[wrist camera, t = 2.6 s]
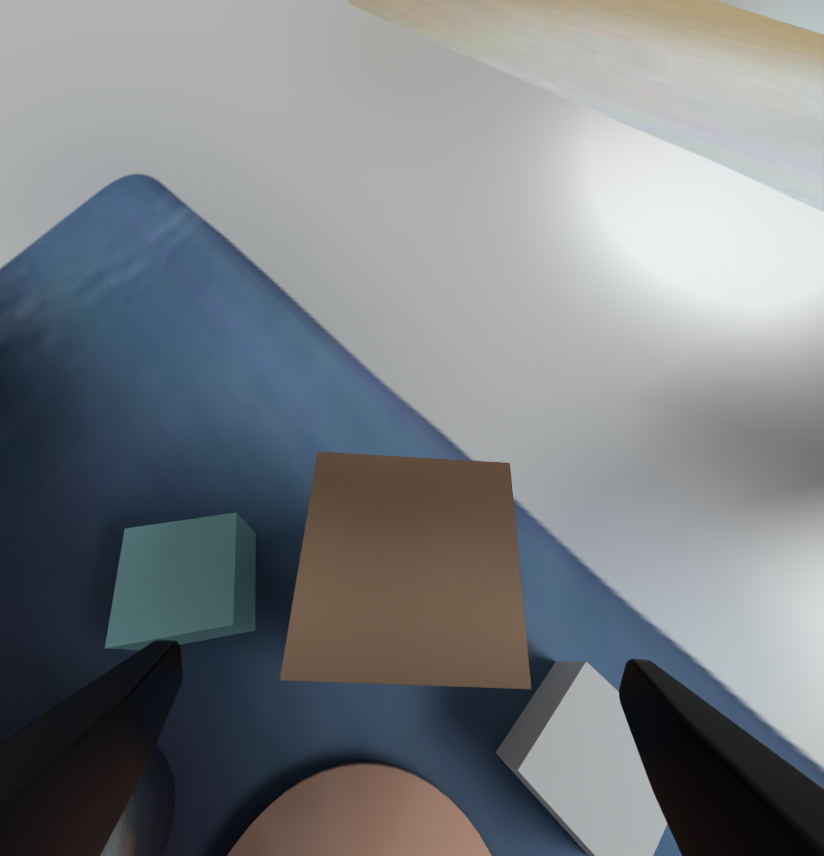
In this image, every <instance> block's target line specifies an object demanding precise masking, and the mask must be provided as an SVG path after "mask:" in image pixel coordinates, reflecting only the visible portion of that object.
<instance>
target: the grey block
mask: <svg viewBox="0 0 824 856" xmlns="http://www.w3.org/2000/svg"><path fill="white" fill-rule="evenodd" d="M496 754H497V755H498V756H499V757H500V758H501V759H502V760H503V762H504V763H505V764H506V765H507V766H508V767H509V768H510V769H511V770H512V772H513V773H514V774H515V775H516V776H517V777H518V778H519V779H520V780H521V782H522V783H523V784H524V785H525V786H526V787H527V788H528V789H529V790H530V792H531V793H532V794H533V795H534V796H535V797H536V798H537V799H538V800H539V801H540V803H541V804H542V805H543V806H544V807H545V808H546V809H547V810H548V811H549V813H550V814H551V815H552V816H553V817H554V818H555V819H556V820H557V821H558V823H559V824H560V825H561V826H562V827H563V828H564V829H565V830H566V831H567V833H568V834H569V835H570V836H571V837H572V838H573V839H574V840H575V841H576V843H577V844H578V845H579V846H580V847H581V848H582V849H583V850H584V851H585V853H586V854H587V855H588V856H653V855H654V852H655V850H656V848H657V846H658V843H659V841H660V839H661V837H662V835H663V832H664V830H665V828H666V826H667V822H666V819H665V817H664V815H663V813H662V811H661V808H660V806H659V804H658V802H657V799H656V797H655V795H654V793H653V790H652V787H651V785H650V782H649V780H648V777H647V775H646V772H645V769H644V766H643V764H642V761H641V758H640V755H639V753H638V750H637V747H636V744H635V742H634V739H633V736H632V734H631V731H630V728H629V725H628V723H627V720H626V717H625V714H624V712H623V709H622V706H621V703H620V699H619V692H618V691H617V690H616V689H615V688H614V687H613V686H612V685H611V684H610V683H609V682H607V681H606V680H605V679H604V678H603V677H602V676H601V675H600V674H599V673H598V672H597V671H596V670H595V669H594V668H593V667H591V666H590V665H589V664H588V663H587V662H586V661H584V662H555V663H554V665H553V666H552V668H551V670H550V671H549V673H548V674H547V676H546V677H545V679H544V680H543V682H542V683H541V685H540V686H539V688H538V689H537V691H536V692H535V694H534V695H533V697H532V698H531V700H530V701H529V703H528V704H527V706H526V707H525V709H524V710H523V712H522V713H521V715H520V716H519V718H518V719H517V721H516V722H515V724H514V725H513V727H512V728H511V730H510V731H509V733H508V734H507V736H506V737H505V739H504V740H503V742H502V743H501V745H500V746H499V748H498V750H497V751H496Z"/></svg>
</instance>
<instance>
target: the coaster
mask: <svg viewBox="0 0 824 856" xmlns="http://www.w3.org/2000/svg"><path fill="white" fill-rule="evenodd" d="M227 856H492V855H491V854H490V852H489V850H488V848H487V847H486V845H485V843H484V842H483V840H482V838H481V836H480V835H479V833H478V831H477V830H476V828H475V827H474V826H473V824H472V823H471V822H470V820H469V819H468V818H467V816H466V815H465V813H464V812H463V811H462V810H461V809H460V808H459V807H458V806H457V805H456V804H455V803H454V801H453V800H452V799H451V798H450V797H449V796H448V795H447V794H445V793H444V792H443V791H442V790H440V789H439V788H438V787H436V786H435V785H434V784H433V783H431V782H430V781H428V780H426V779H424V778H423V777H421V776H419V775H418V774H416V773H414V772H411V771H409V770H406V769H403V768H401V767H398V766H394V765H389V764H384V763H379V762H355V763H348V764H341V765H338V766H334V767H331V768H328V769H324V770H322V771H320V772H318V773H315V774H313V775H311V776H309V777H307V778H305V779H303V780H302V781H300V782H299V783H297V784H295V785H294V786H292V787H291V788H289V789H288V790H286V791H285V792H284V793H283V794H282V795H280V796H279V797H278V798H277V799H276V800H274V801H273V802H272V803H271V804H270V805H269V806H268V807H267V808H266V809H265V810H264V811H263V812H262V813H261V814H260V815H259V816H258V817H257V818H256V819H255V820H254V821H253V822H252V824H251V825H250V826H249V827H248V829H247V830H246V831H245V832H244V834H243V835H242V836H241V838H240V839H239V840H238V842H237V843H236V844H235V846H234V847H233V848H232V849H231V851H230V852H229V854H228V855H227Z"/></svg>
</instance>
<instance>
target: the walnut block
mask: <svg viewBox="0 0 824 856" xmlns="http://www.w3.org/2000/svg"><path fill="white" fill-rule="evenodd" d="M280 680H288V681H315V682H343V683H371V684H399V685H426V686H454V687H482V688H510V689H531V679H530V669H529V658H528V648H527V638H526V627H525V617H524V607H523V596H522V586H521V575H520V565H519V555H518V544H517V534H516V523H515V513H514V503H513V493H512V482H511V472H510V464H509V463H500V462H482V461H466V460H449V459H431V458H414V457H397V456H380V455H363V454H346V453H329V452H318V453H317V459H316V465H315V471H314V477H313V483H312V489H311V495H310V501H309V507H308V513H307V519H306V525H305V531H304V537H303V543H302V549H301V555H300V561H299V567H298V573H297V579H296V585H295V591H294V597H293V603H292V609H291V615H290V621H289V627H288V633H287V639H286V645H285V651H284V657H283V663H282V669H281V675H280Z"/></svg>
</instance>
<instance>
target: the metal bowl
mask: <svg viewBox="0 0 824 856" xmlns="http://www.w3.org/2000/svg"><path fill="white" fill-rule="evenodd" d="M174 809H175V789H174V781H173V776H172V772H171V769H170V767H169V764H168V762H167V760H166V758H165V756H164V755H163V753H162V752H161V751H160V749H159V748H158V747H157V746H156V745H155V747H154V749H153V752H152V754H151V756H150V759H149V761H148V763H147V766H146V768H145V770H144V772H143V775H142V777H141V779H140V781H139V783H138V785H137V787H136V789H135V791H134V793H133V795H132V797H131V799H130V800H129V802H128V804H127V806H126V808H125V810H124V812H123V814H122V816H121V817H120V819H119V821H118V823H117V825H116V827H115V829H114V831H113V832H112V834H111V836H110V838H109V840H108V842H107V844H106V846H105V848H104V849H103V851H102V853H101V855H100V856H162V855H163V852H164V850H165V847H166V844H167V841H168V838H169V835H170V831H171V827H172V823H173V816H174Z"/></svg>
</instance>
